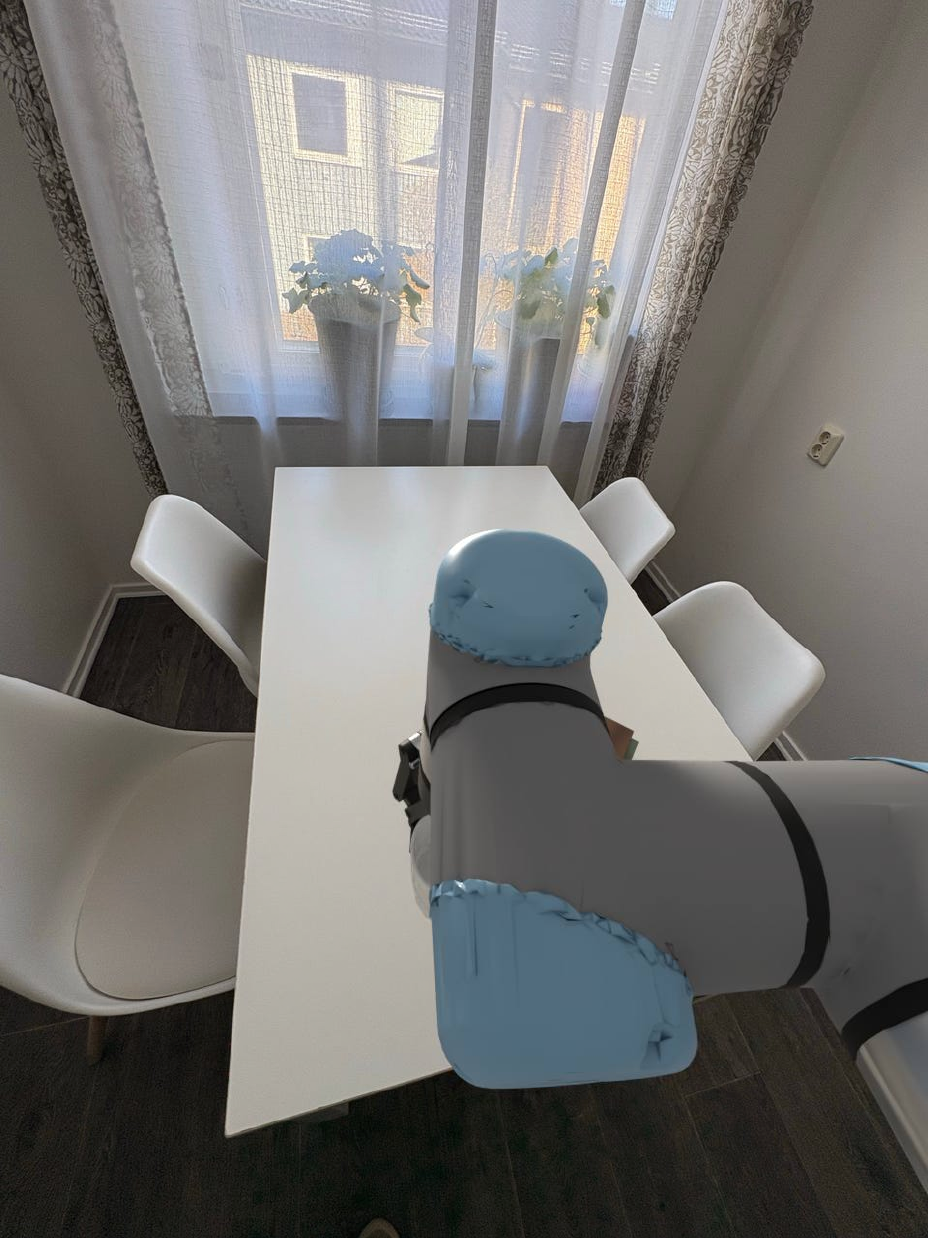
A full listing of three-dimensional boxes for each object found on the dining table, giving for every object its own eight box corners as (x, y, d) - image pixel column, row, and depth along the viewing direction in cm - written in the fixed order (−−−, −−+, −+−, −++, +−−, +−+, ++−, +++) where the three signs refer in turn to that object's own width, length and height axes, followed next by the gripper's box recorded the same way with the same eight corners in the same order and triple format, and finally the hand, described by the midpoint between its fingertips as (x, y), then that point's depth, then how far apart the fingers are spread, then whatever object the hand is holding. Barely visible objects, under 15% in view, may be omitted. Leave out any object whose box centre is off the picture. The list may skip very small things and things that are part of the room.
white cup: (404, 933, 46) (407, 898, 39) (409, 844, 52) (412, 799, 45) (491, 934, 47) (509, 899, 40) (487, 846, 52) (502, 802, 45)
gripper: (650, 846, 29) (557, 947, 45) (424, 633, 39) (414, 778, 55) (566, 946, 25) (497, 1018, 41) (338, 681, 35) (354, 822, 51)
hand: (450, 881), depth 48 cm, fingers closed on white cup, 8 cm apart
